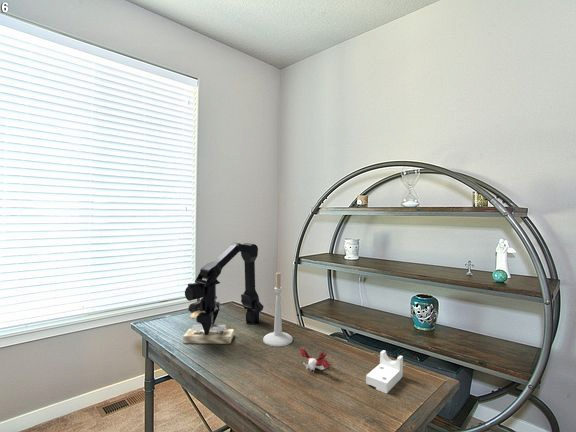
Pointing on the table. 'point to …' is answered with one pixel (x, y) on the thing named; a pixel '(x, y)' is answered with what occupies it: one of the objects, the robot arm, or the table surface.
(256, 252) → the robot arm
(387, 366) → the bracket
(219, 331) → the steel clip
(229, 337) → the maple rail
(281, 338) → the candlestick
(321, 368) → the figurine
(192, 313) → the hand bell
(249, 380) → the table surface
